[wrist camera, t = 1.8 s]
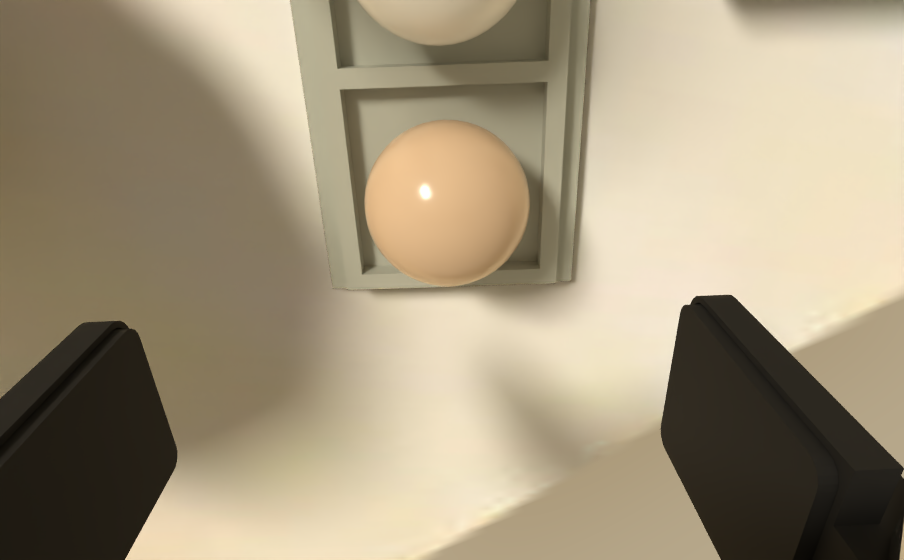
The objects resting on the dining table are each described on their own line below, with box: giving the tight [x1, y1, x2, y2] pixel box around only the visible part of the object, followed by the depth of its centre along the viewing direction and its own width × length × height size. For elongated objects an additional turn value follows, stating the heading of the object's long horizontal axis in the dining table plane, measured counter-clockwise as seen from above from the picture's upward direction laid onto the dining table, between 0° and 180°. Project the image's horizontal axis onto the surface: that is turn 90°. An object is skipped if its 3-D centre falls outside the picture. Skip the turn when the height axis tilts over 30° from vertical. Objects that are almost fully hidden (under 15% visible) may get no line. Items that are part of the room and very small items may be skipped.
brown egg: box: [364, 120, 530, 286], centre depth 17 cm, size 5×5×5 cm
